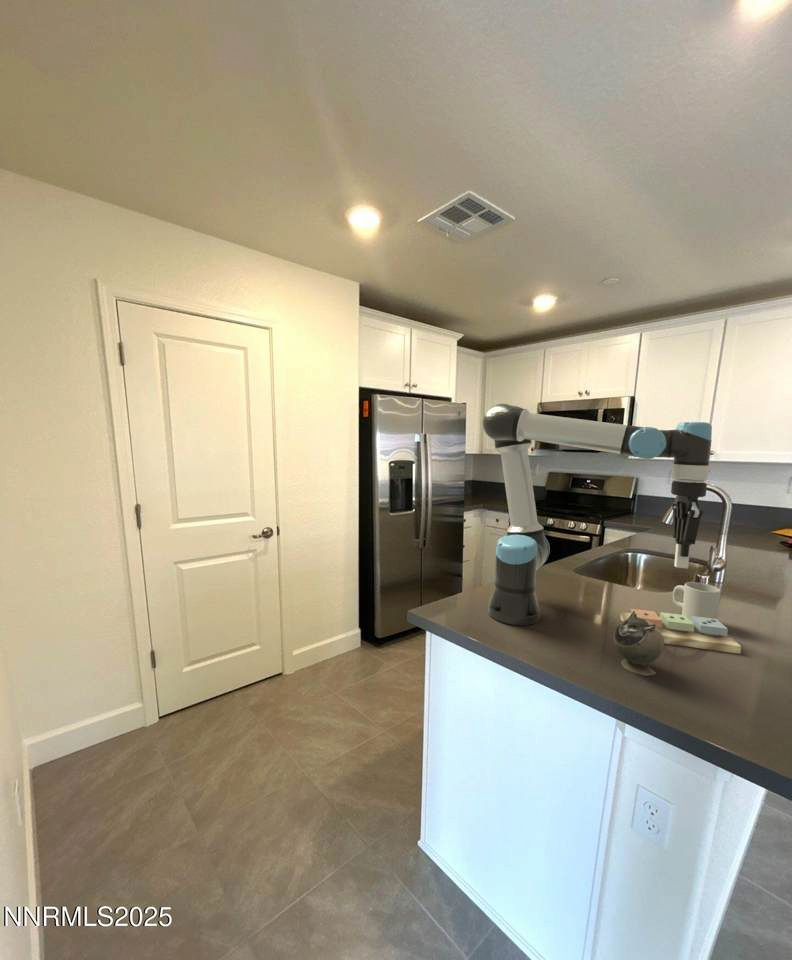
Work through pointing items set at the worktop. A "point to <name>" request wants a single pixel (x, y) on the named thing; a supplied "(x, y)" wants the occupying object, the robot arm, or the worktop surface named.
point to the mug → (698, 600)
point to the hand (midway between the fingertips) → (681, 567)
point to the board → (696, 639)
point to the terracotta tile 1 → (648, 616)
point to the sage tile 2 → (676, 622)
